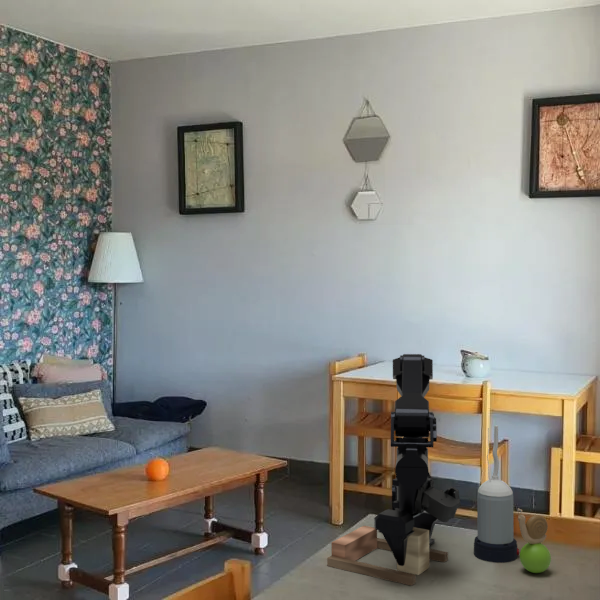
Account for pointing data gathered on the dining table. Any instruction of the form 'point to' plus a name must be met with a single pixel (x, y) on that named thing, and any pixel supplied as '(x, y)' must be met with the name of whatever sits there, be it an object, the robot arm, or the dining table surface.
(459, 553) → the dining table surface
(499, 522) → the humidifier
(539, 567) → the snail figurine
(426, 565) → the block
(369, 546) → the guide track
